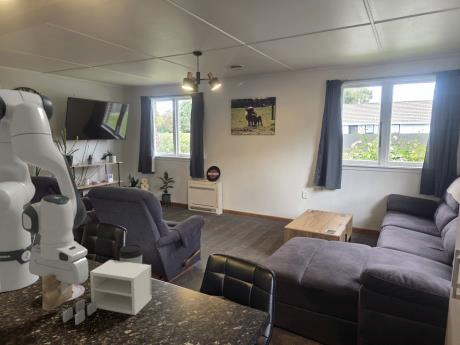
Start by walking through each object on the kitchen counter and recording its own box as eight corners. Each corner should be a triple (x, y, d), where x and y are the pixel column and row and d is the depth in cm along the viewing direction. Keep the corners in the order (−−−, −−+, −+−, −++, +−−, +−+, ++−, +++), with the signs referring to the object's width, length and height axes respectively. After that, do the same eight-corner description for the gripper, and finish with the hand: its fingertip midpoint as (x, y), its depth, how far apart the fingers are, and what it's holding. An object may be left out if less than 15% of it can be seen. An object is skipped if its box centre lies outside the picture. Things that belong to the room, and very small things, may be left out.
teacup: (63, 284, 113) (62, 268, 112) (91, 287, 110) (91, 271, 110) (37, 301, 101) (36, 283, 100) (68, 305, 99) (67, 287, 98)
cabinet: (63, 321, 89) (60, 283, 88) (105, 290, 108) (104, 258, 106) (116, 333, 85) (115, 292, 83) (151, 298, 103) (150, 265, 101)
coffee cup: (136, 294, 106) (135, 253, 104) (115, 291, 107) (113, 251, 106) (147, 283, 114) (146, 245, 112) (127, 280, 115) (126, 243, 114)
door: (40, 308, 90) (40, 276, 89) (64, 295, 98) (64, 265, 97) (48, 311, 89) (48, 278, 88) (72, 297, 97) (71, 267, 96)
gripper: (22, 246, 91) (23, 289, 93) (75, 257, 85) (75, 303, 87) (41, 240, 97) (41, 281, 99) (91, 250, 91) (91, 293, 93)
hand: (58, 291), depth 93 cm, fingers closed on door, 2 cm apart
